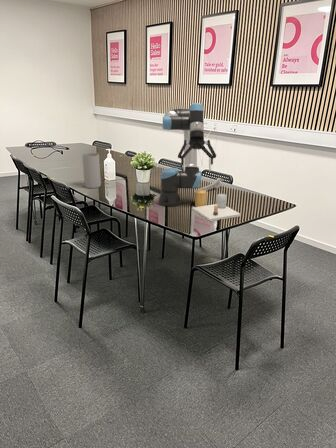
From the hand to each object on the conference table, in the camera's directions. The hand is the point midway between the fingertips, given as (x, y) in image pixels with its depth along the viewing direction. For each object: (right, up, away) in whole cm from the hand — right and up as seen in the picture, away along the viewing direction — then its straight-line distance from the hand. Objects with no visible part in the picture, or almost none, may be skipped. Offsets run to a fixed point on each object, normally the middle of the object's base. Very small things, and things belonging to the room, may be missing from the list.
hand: (197, 170), depth 177 cm
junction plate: (+15, -21, +36) cm, 44 cm away
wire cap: (+7, -16, +48) cm, 51 cm away
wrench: (+16, -3, +81) cm, 82 cm away
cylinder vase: (-75, +1, +88) cm, 116 cm away
